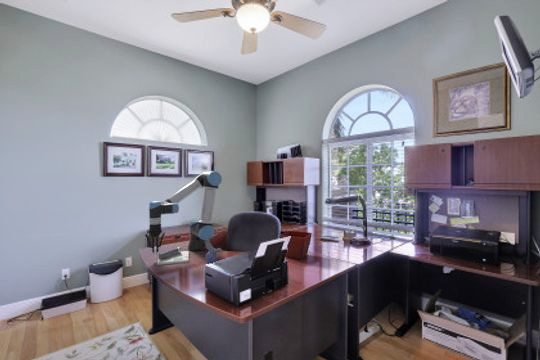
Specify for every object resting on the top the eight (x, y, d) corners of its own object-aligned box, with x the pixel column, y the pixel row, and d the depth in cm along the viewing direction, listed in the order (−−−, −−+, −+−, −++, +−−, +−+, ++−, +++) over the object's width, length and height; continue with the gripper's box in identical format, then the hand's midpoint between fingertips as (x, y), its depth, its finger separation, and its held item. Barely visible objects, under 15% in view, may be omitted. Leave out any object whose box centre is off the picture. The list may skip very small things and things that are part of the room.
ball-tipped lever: (178, 252, 194) (178, 246, 194) (182, 253, 192) (182, 247, 192) (158, 259, 177) (158, 253, 177) (161, 260, 175) (161, 254, 175)
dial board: (188, 252, 199) (188, 250, 199) (188, 262, 178) (188, 259, 178) (160, 255, 193) (160, 252, 193) (157, 264, 172) (157, 262, 172)
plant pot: (289, 250, 206) (289, 230, 205) (311, 254, 197) (312, 232, 197) (279, 257, 189) (279, 235, 188) (304, 261, 180) (304, 238, 180)
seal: (219, 266, 170) (219, 236, 170) (202, 264, 173) (203, 235, 173) (225, 262, 178) (225, 233, 178) (209, 260, 181) (209, 232, 181)
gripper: (144, 224, 172) (144, 259, 173) (164, 223, 176) (164, 257, 176) (145, 222, 179) (146, 256, 180) (165, 222, 183) (165, 254, 184)
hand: (155, 256), depth 178 cm, fingers closed
